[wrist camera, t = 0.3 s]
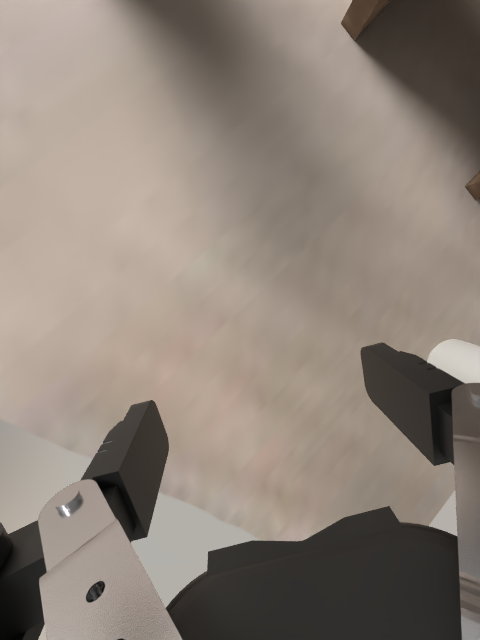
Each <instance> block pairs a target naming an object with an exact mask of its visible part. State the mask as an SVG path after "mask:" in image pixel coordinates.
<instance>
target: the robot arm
mask: <svg viewBox="0 0 480 640" xmlns="http://www.w3.org/2000/svg"><path fill="white" fill-rule="evenodd" d="M361 360H362V367H363V374H364V381H365V387H366V390H367V393H368V395H369V397H370V399H371V400H372V402H373V403H374V404H375V405H376V406H377V407H378V408H379V409H380V410H381V411H382V412H383V413H384V414H385V415H386V416H387V417H388V418H389V419H390V420H391V421H392V422H393V423H394V424H395V426H396V427H397V428H398V429H399V430H400V431H401V432H402V433H403V434H404V435H405V436H406V437H407V438H408V439H409V440H410V441H411V442H412V443H413V444H414V445H415V446H416V447H417V448H418V449H419V450H420V452H421V453H422V454H423V455H424V456H425V457H426V458H427V459H428V460H429V461H430V462H431V463H432V464H433V465H434V466H436V465H440V464H444V463H448V462H451V463H452V464H453V465H454V468H455V490H456V512H457V534H458V537H457V536H455V535H452V534H450V533H448V532H445V531H442V530H439V529H436V528H433V527H429V526H424V525H420V524H413V523H403V522H399V521H398V519H397V518H396V516H395V514H394V513H393V511H392V510H391V508H390V507H389V506H388V507H384V508H380V509H376V510H372V511H368V512H364V513H360V514H356V515H352V516H348V517H345V518H343V519H341V520H339V521H338V522H336V523H334V524H332V525H330V526H329V527H327V528H325V529H323V530H322V531H320V532H318V533H316V534H315V535H313V536H311V537H309V538H308V539H306V540H303V541H249V542H245V543H241V544H237V545H233V546H230V547H225V548H221V549H218V550H214V551H209V552H208V569H207V571H206V572H204V573H203V574H201V575H200V576H198V577H197V578H196V579H194V580H193V581H191V582H190V583H189V584H188V585H187V586H186V587H185V588H184V589H183V590H181V591H180V592H179V593H178V594H177V596H176V597H175V598H174V599H173V600H172V601H171V602H170V604H169V605H168V606H167V607H166V608H165V607H164V604H163V603H162V601H161V599H160V597H159V595H158V593H157V591H156V590H155V588H154V586H153V584H152V582H151V580H150V578H149V577H148V575H147V573H146V571H145V569H144V567H143V565H142V564H141V562H140V560H139V558H138V556H137V554H136V552H135V551H134V549H133V547H132V545H131V541H133V540H138V539H141V538H145V537H147V535H148V531H149V527H150V523H151V519H152V515H153V511H154V507H155V503H156V499H157V495H158V492H159V488H160V484H161V480H162V476H163V472H164V468H165V464H166V460H167V456H168V451H169V443H168V437H167V433H166V431H165V428H164V425H163V422H162V420H161V417H160V414H159V411H158V409H157V406H156V404H155V402H154V401H153V400H150V401H146V402H142V403H138V404H134V405H132V406H131V407H130V409H129V411H128V413H127V414H126V416H125V418H124V420H123V421H120V422H119V423H118V424H117V425H116V426H115V427H114V428H113V429H112V430H111V431H110V432H109V433H108V435H107V436H106V438H105V440H104V441H103V444H102V445H101V446H100V448H99V450H98V453H96V455H95V457H94V458H93V460H92V462H91V464H90V465H89V467H88V468H87V470H86V472H85V473H84V475H83V477H82V479H81V480H80V481H78V482H75V483H73V484H71V485H69V486H67V487H66V488H64V489H63V490H61V491H60V492H58V493H57V494H56V495H55V496H54V497H52V498H51V499H50V500H49V501H48V502H47V504H46V505H45V506H44V507H43V509H42V510H41V512H40V515H39V518H38V520H37V521H35V522H33V523H31V524H29V525H27V526H25V527H23V528H21V529H19V530H17V531H14V532H12V533H10V534H8V533H7V532H6V530H5V528H4V527H3V525H2V524H1V523H0V640H38V638H39V636H40V634H41V631H42V629H43V626H44V624H45V629H46V636H47V640H480V383H466V384H465V383H464V382H462V381H460V380H458V379H457V378H455V377H453V376H451V375H450V374H448V373H446V372H444V371H443V370H441V369H439V368H436V366H434V365H432V364H430V363H427V361H425V360H423V359H422V358H420V357H418V356H416V355H413V354H409V353H406V352H402V351H400V352H398V351H396V350H395V349H393V348H391V347H390V346H388V345H386V344H385V343H378V344H374V345H370V346H366V347H363V348H362V349H361Z"/></svg>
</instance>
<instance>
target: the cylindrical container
mask: <svg viewBox="0 0 480 640" xmlns="http://www.w3.org/2000/svg"><path fill="white" fill-rule="evenodd" d="M427 363H430V364H432V365H434V366H436V368H439V369H441V370H443V371H444V372H446V373H448V374H450V375H451V376H453V377H455V378H457V379H458V380H460V381H462V382H464V383H465V384H466V383H480V346H478V345H475V344H471V343H468V342H465V341H462V340H458V339H449V340H445V341H443V342H441V343H439V344H438V345H437V346H436V347H435V348H434V349H433V350H432V351H431V353H430V355H429V357H428V360H427Z"/></svg>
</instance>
